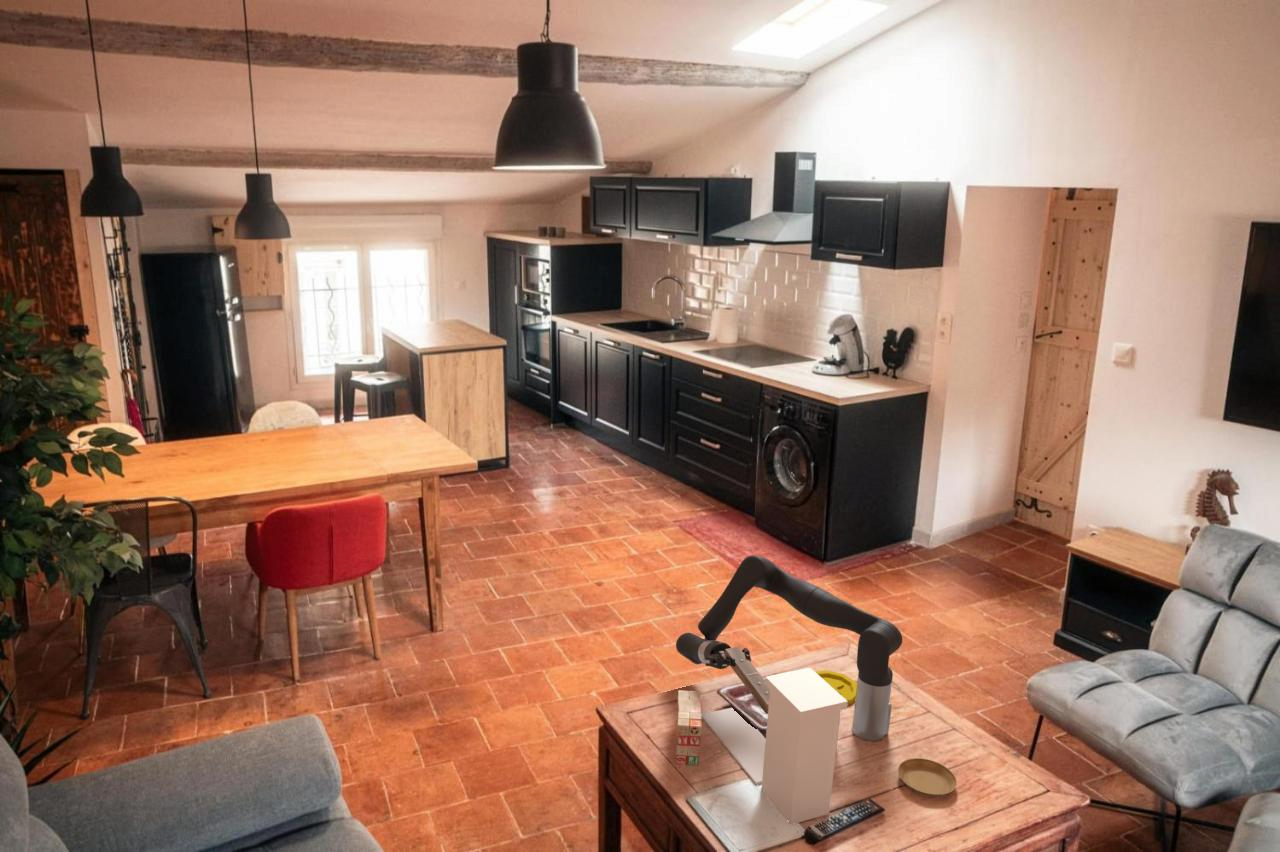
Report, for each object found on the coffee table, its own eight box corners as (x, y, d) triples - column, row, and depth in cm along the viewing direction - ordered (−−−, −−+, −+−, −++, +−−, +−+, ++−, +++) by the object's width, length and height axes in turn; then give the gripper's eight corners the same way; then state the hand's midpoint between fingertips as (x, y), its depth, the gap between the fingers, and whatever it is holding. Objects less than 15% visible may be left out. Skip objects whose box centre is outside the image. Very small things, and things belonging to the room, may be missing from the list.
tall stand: (799, 776, 234) (810, 667, 225) (834, 815, 220) (847, 701, 211) (756, 787, 229) (765, 676, 220) (789, 828, 215) (800, 711, 206)
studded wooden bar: (737, 655, 251) (738, 646, 250) (779, 710, 231) (781, 701, 229) (724, 657, 250) (725, 648, 248) (766, 714, 229) (767, 704, 228)
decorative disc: (792, 679, 280) (792, 673, 280) (843, 673, 284) (844, 668, 284) (815, 709, 264) (815, 703, 264) (868, 703, 269) (869, 697, 268)
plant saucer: (884, 773, 237) (886, 764, 236) (929, 761, 243) (930, 752, 242) (922, 808, 224) (923, 800, 223) (968, 795, 230) (969, 786, 229)
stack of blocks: (676, 718, 257) (678, 680, 254) (698, 719, 257) (700, 681, 254) (675, 765, 237) (677, 724, 233) (698, 766, 236) (701, 726, 233)
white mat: (736, 708, 263) (736, 706, 263) (795, 774, 235) (795, 772, 235) (700, 716, 258) (700, 714, 258) (755, 784, 230) (756, 782, 230)
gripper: (691, 645, 258) (716, 652, 242) (735, 636, 263) (762, 642, 247) (694, 672, 257) (720, 680, 241) (738, 662, 262) (766, 669, 246)
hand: (741, 660), depth 244 cm, fingers closed on studded wooden bar, 4 cm apart
